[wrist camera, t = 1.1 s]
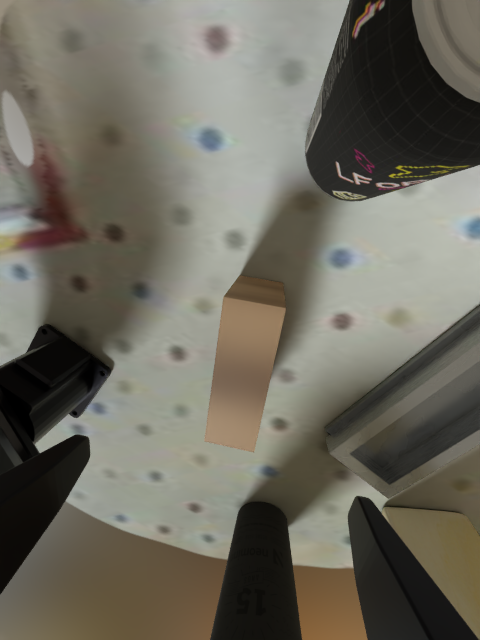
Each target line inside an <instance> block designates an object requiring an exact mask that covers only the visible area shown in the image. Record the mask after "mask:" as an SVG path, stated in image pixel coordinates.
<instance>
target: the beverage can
mask: <svg viewBox="0 0 480 640" xmlns="http://www.w3.org/2000/svg"><path fill="white" fill-rule="evenodd" d="M305 156H306V162H307V167H308V169H309V172H310V175H311V177H312V178H313V180H314V182H315V183H316V185H317V186H318V187H319V188H320V189H321V190H322V191H323V192H325V193H326V194H328V195H329V196H331V197H333V198H336V199H339V200H343V201H362V200H366V199H369V198H373V197H376V196H379V195H383V194H386V193H389V192H393V191H396V190H399V189H402V188H406V187H409V186H412V185H415V184H419V183H422V182H425V181H429V180H432V179H435V178H438V177H442V176H445V175H448V174H451V173H455V172H458V171H461V170H465V169H468V168H471V167H474V166H478V165H480V0H350V1H349V4H348V8H347V11H346V14H345V17H344V20H343V23H342V26H341V29H340V32H339V35H338V38H337V41H336V45H335V48H334V51H333V54H332V57H331V60H330V63H329V66H328V69H327V72H326V75H325V78H324V82H323V85H322V88H321V91H320V94H319V97H318V100H317V103H316V106H315V109H314V112H313V115H312V119H311V122H310V125H309V128H308V132H307V137H306V142H305Z"/></svg>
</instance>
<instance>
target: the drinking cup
mask: <svg viewBox="0 0 480 640" xmlns="http://www.w3.org/2000/svg"><path fill="white" fill-rule="evenodd" d="M210 640H302V637H301V629H300V621H299V613H298V605H297V597H296V589H295V581H294V573H293V565H292V557H291V549H290V541H289V533H288V525H287V519H286V516H285V515H284V513H283V512H282V511H281V510H280V509H279V508H277V507H275V506H274V505H271V504H268V503H263V502H253V503H249V504H247V505H245V506H243V507H242V508H241V509H240V510H239V512H238V516H237V520H236V525H235V529H234V534H233V538H232V543H231V547H230V552H229V556H228V561H227V566H226V570H225V575H224V579H223V584H222V588H221V593H220V598H219V602H218V606H217V611H216V616H215V621H214V625H213V629H212V634H211V639H210Z"/></svg>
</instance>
